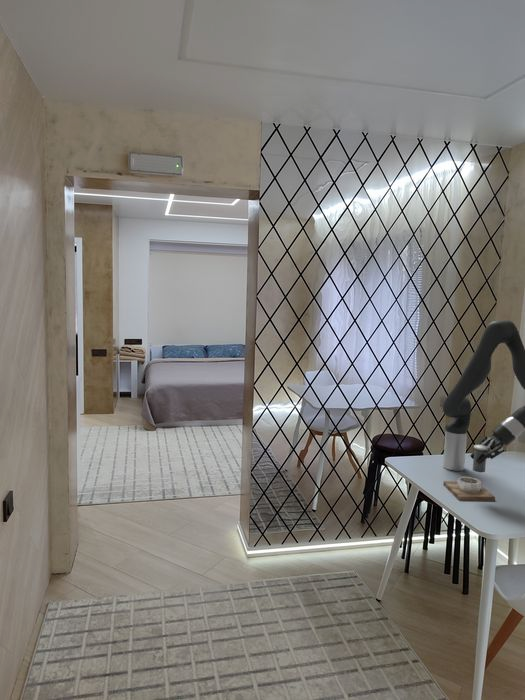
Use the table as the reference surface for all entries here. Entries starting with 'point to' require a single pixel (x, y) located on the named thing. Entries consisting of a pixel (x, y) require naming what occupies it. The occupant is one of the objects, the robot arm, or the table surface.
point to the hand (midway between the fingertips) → (474, 459)
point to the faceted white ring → (468, 484)
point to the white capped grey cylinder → (477, 452)
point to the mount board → (461, 495)
